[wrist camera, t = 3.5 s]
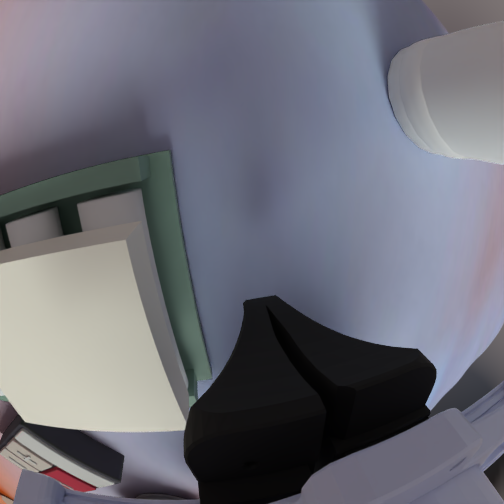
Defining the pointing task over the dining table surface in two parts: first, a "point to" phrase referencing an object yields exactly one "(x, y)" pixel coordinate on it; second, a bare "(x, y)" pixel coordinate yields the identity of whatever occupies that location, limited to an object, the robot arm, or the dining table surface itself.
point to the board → (88, 335)
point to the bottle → (453, 93)
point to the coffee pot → (158, 497)
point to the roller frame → (116, 213)
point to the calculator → (61, 455)
